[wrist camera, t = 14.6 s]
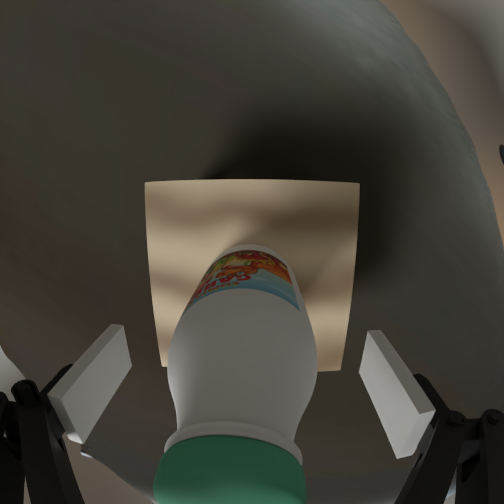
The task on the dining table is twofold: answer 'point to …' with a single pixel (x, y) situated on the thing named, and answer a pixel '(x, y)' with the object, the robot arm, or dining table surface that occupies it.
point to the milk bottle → (239, 385)
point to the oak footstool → (260, 233)
